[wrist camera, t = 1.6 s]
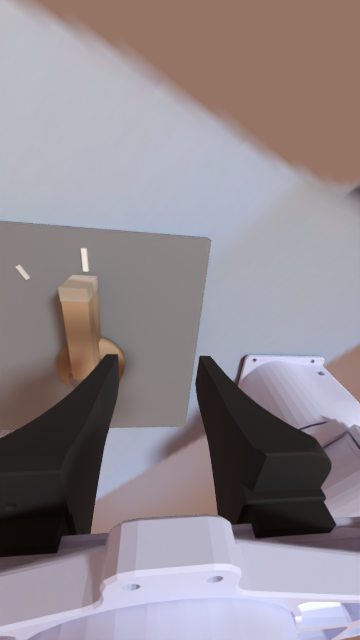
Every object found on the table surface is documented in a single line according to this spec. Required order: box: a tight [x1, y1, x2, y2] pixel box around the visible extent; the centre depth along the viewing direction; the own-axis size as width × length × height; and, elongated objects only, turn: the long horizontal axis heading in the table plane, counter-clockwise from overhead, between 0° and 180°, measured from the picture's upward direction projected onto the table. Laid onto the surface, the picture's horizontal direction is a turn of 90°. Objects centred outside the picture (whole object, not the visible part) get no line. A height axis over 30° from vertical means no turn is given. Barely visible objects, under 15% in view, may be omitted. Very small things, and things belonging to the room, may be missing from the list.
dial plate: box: [0, 221, 211, 429], centre depth 23 cm, size 22×22×2 cm
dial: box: [57, 275, 125, 388], centre depth 20 cm, size 12×6×3 cm, turn 175°
